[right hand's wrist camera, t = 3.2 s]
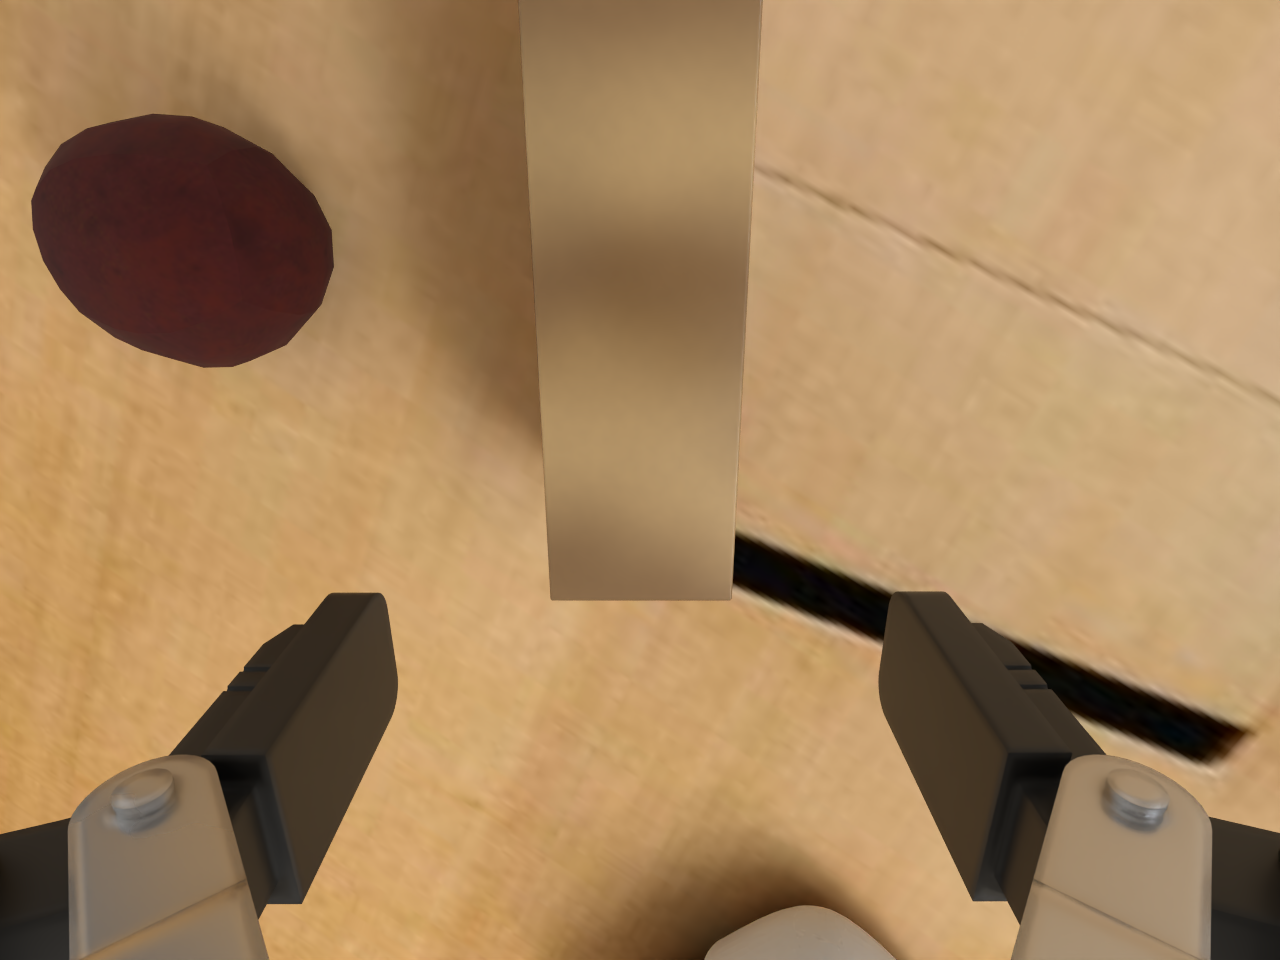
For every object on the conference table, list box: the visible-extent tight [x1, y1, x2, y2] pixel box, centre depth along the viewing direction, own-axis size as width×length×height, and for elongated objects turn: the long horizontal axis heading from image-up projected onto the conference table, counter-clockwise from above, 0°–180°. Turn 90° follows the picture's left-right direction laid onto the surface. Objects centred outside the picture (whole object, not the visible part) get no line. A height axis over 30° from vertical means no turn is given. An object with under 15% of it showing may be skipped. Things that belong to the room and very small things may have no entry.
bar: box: [518, 0, 763, 600], centre depth 20 cm, size 26×5×9 cm, turn 0°
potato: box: [31, 114, 334, 368], centre depth 22 cm, size 7×8×7 cm
